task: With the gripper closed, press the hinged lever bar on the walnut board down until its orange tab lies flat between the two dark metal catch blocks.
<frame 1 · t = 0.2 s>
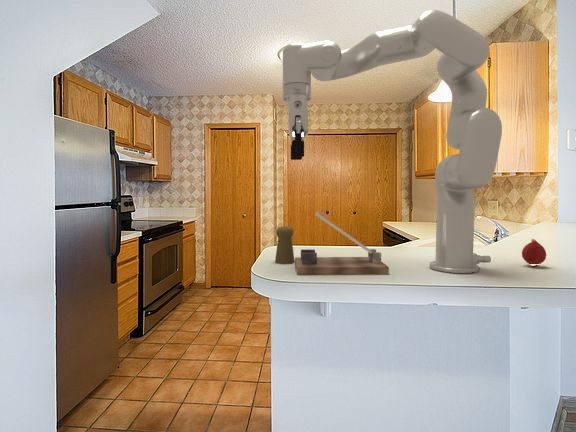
hand: (297, 158, 99), 31 cm above the table, tool pointing down, fingers open, 9 cm apart
board: (338, 268, 103), on the table
hinged lever bar: (347, 233, 102), point 10 cm above the table, hinge at 35.0°
pepper mill: (284, 262, 113), on the table
onion: (533, 267, 105), on the table
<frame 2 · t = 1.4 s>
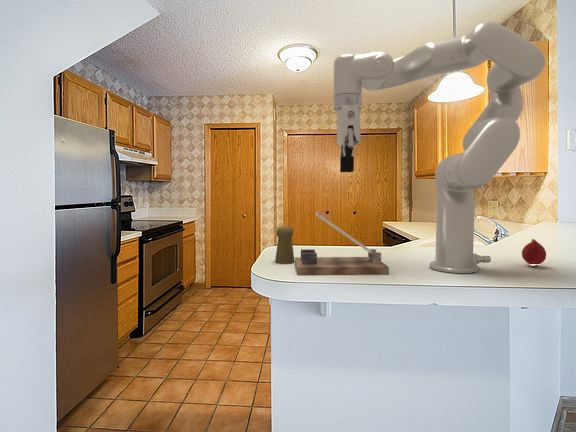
hand: (346, 171, 101), 27 cm above the table, tool pointing down, fingers closed
nothing on the table moved.
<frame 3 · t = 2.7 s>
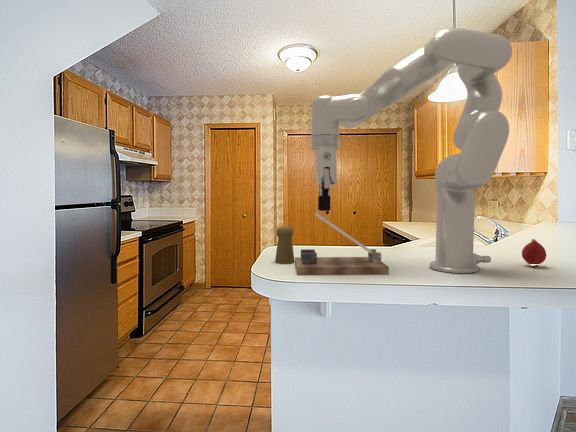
hand: (324, 210, 102), 16 cm above the table, tool pointing down, fingers closed
hinged lever bar: (347, 233, 102), point 10 cm above the table, hinge at 34.7°, touching gripper
everything else where it was.
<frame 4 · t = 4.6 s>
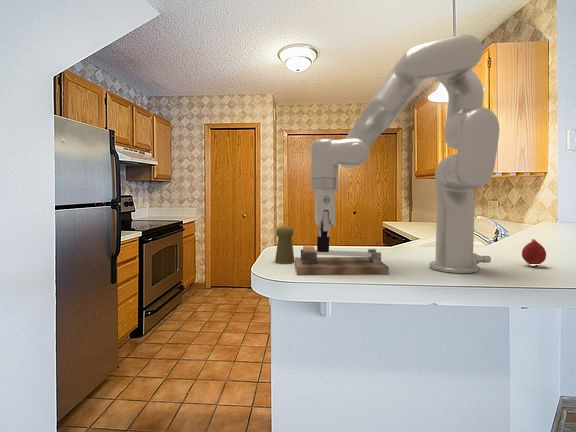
hand: (322, 250, 102), 5 cm above the table, tool pointing down, fingers closed
hinged lever bar: (339, 251, 103), point 5 cm above the table, hinge at 2.6°, touching gripper
everything else where it was.
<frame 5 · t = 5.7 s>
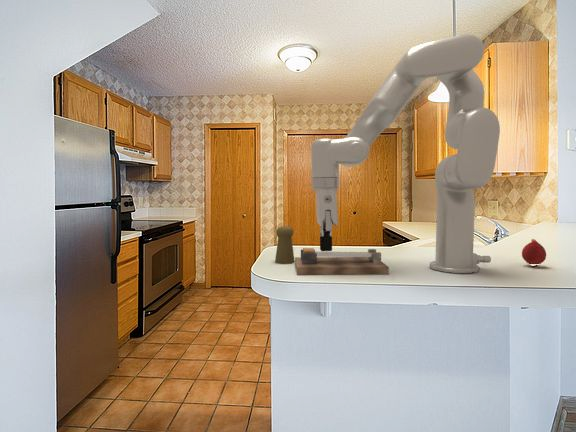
hand: (326, 250, 102), 5 cm above the table, tool pointing down, fingers closed
hinged lever bar: (339, 252, 103), point 5 cm above the table, hinge at 0.8°
everything else where it was.
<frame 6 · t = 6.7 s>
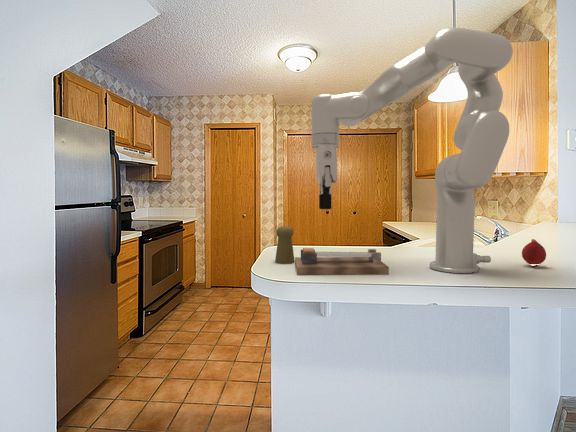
hand: (325, 208, 102), 17 cm above the table, tool pointing down, fingers closed
nothing on the table moved.
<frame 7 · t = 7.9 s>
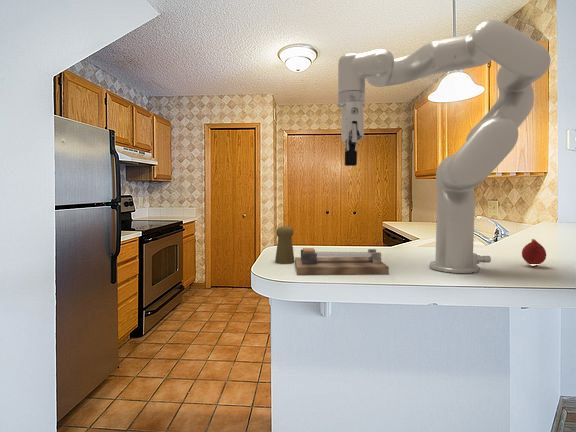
hand: (350, 165, 106), 29 cm above the table, tool pointing down, fingers closed
nothing on the table moved.
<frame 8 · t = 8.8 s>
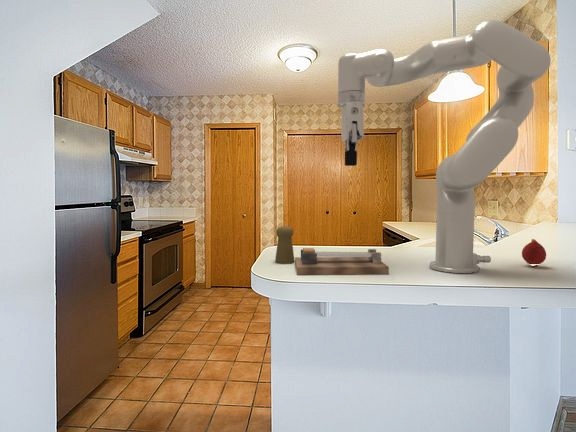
hand: (350, 165, 106), 29 cm above the table, tool pointing down, fingers closed
nothing on the table moved.
at the end: hinged lever bar at +1° (first picture: +35°); the gripper is holding nothing; pepper mill moved 0.2 cm from its start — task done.
